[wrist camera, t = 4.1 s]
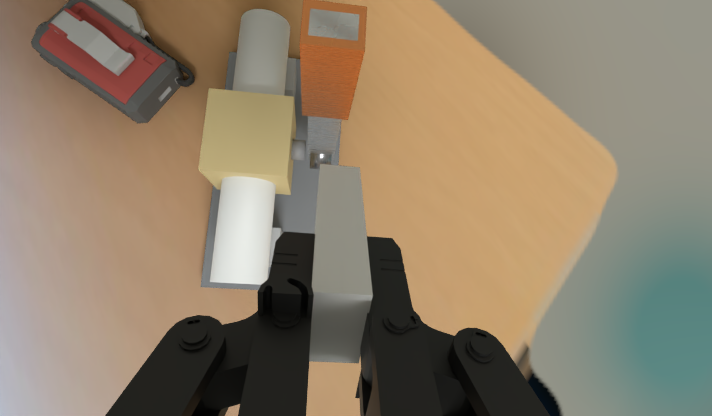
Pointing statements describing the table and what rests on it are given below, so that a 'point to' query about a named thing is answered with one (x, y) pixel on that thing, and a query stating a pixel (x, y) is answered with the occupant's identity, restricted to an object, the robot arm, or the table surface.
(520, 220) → the table surface
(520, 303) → the table surface
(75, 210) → the table surface
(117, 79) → the walkie-talkie
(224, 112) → the valve rig
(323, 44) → the valve lever
